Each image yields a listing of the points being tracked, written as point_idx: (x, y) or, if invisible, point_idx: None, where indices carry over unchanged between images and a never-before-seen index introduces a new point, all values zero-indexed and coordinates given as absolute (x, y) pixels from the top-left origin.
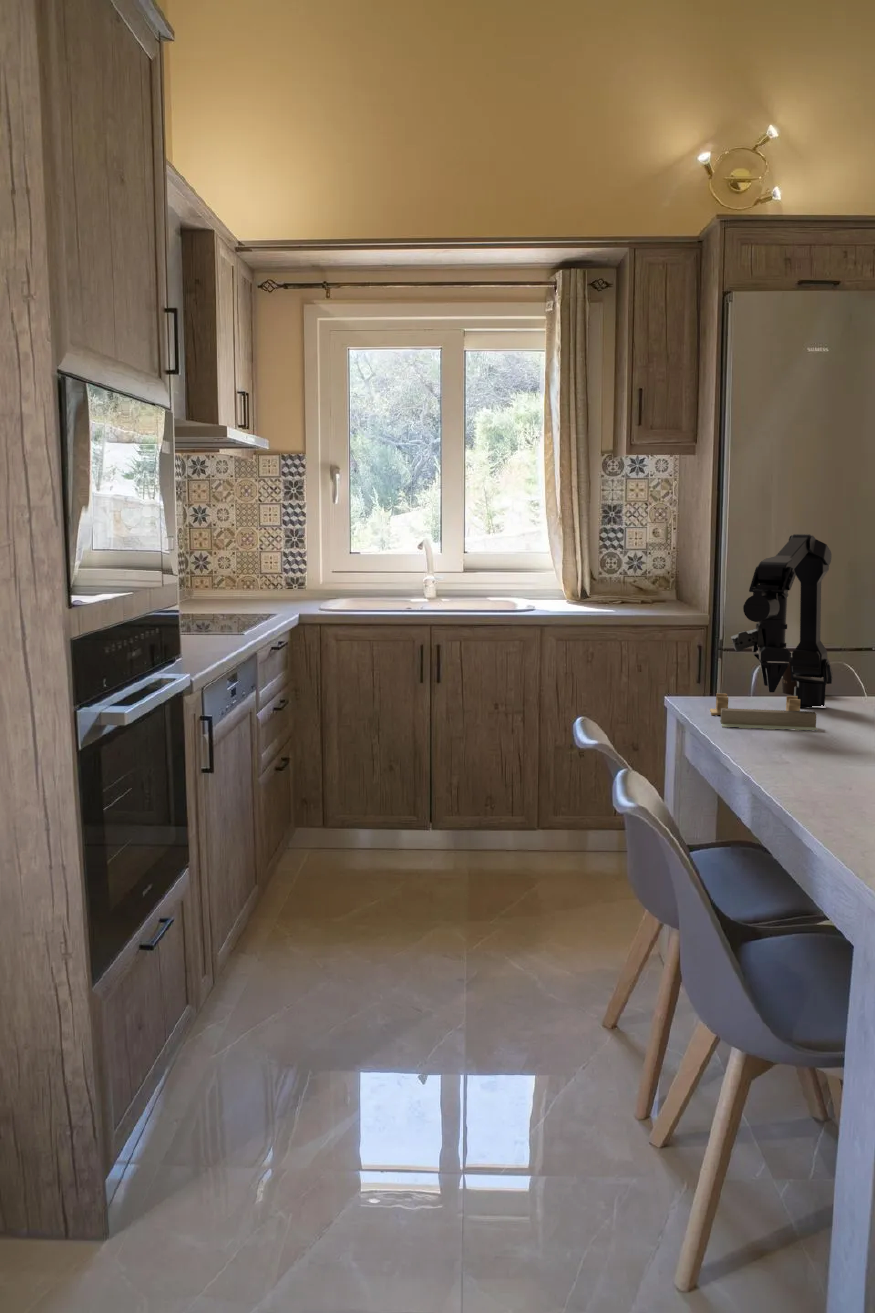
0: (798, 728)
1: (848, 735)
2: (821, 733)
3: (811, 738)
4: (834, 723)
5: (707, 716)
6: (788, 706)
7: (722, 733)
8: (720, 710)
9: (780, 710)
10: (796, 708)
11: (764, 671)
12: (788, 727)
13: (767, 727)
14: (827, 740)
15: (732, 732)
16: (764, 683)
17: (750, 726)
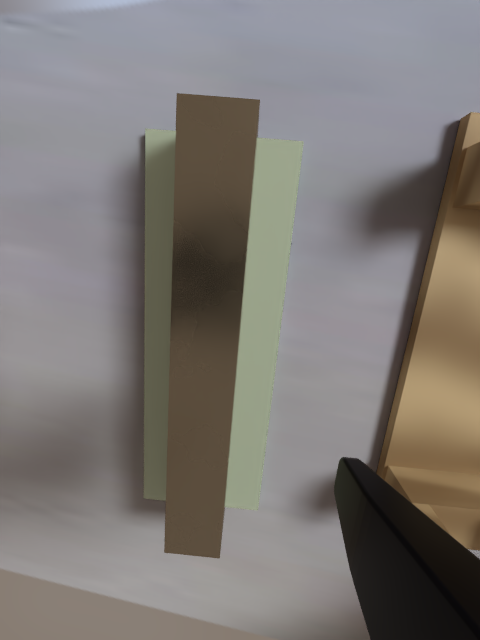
0: (147, 442)
1: (102, 558)
2: (114, 495)
3: (20, 446)
4: (295, 571)
5: (436, 91)
6: (431, 497)
7: (8, 111)
8: (474, 161)
9: (226, 432)
10: None
11: (434, 625)
12: (158, 413)
13: (144, 334)
14: (4, 484)
15: (45, 166)
16: (348, 470)
17: (148, 266)
